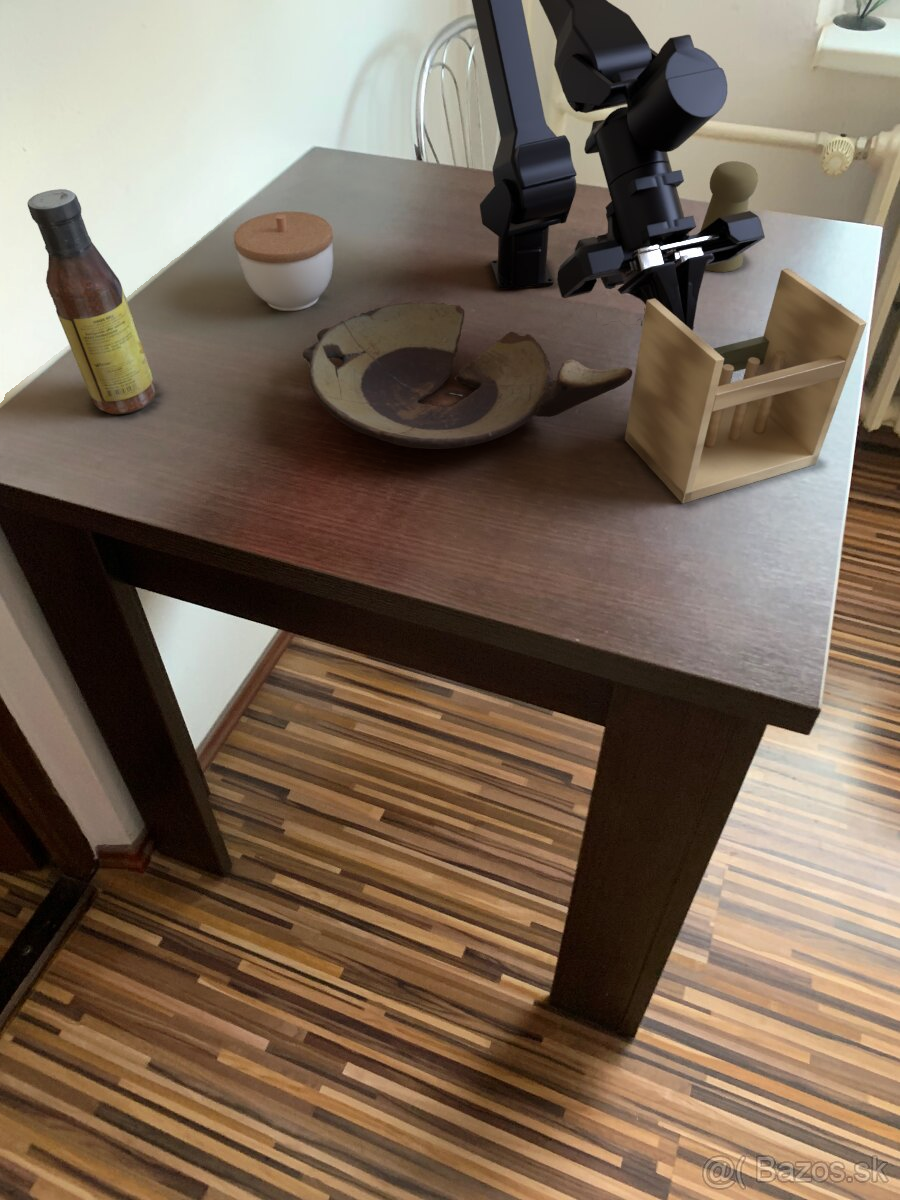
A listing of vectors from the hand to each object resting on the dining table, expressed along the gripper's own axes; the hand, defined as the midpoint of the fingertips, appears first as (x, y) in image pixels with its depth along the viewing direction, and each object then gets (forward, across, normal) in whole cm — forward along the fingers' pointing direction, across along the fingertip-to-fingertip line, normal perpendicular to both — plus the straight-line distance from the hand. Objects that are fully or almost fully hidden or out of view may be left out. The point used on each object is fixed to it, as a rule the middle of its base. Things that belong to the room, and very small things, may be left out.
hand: (684, 346), depth 81 cm
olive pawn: (-12, -22, -22) cm, 33 cm away
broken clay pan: (0, +20, -10) cm, 22 cm away
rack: (+10, 0, +1) cm, 10 cm away
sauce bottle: (-11, +49, -21) cm, 55 cm away
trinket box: (-20, +28, -30) cm, 46 cm away
